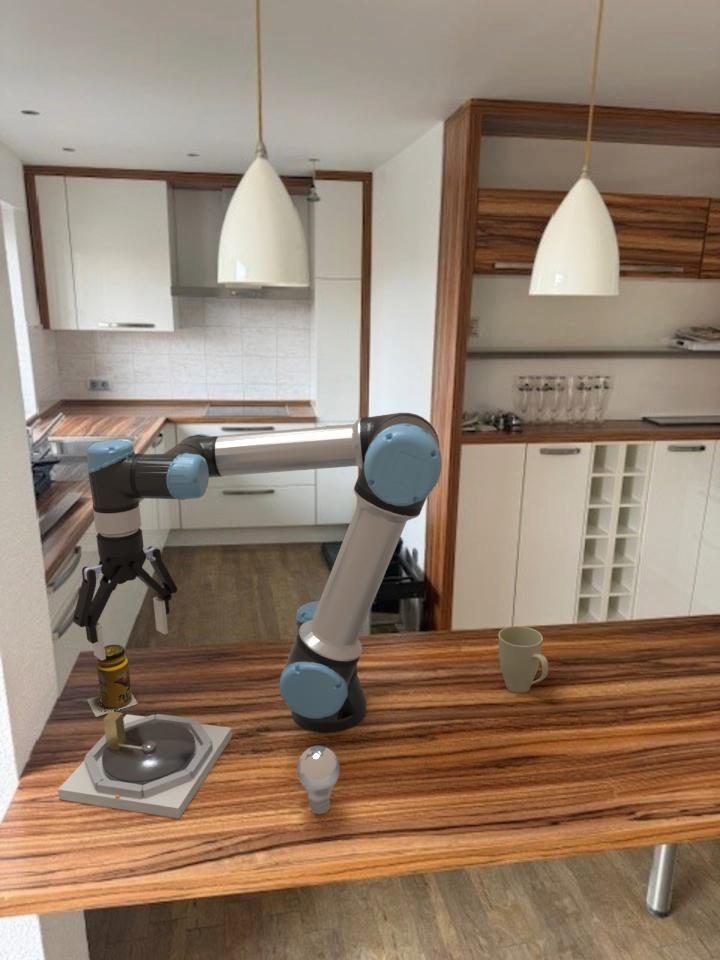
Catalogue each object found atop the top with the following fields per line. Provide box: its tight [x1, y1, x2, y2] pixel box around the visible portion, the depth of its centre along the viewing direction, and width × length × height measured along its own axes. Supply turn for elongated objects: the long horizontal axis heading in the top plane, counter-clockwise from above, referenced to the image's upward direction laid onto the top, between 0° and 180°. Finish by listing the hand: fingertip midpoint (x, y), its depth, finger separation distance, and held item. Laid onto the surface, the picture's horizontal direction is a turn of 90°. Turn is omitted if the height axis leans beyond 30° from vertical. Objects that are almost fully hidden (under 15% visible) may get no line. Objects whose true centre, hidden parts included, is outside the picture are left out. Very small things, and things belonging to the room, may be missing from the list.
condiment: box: [86, 644, 139, 718], centre depth 147 cm, size 7×8×12 cm
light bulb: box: [296, 744, 341, 816], centre depth 115 cm, size 7×7×12 cm
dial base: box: [57, 713, 233, 819], centre depth 128 cm, size 22×22×4 cm
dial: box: [102, 711, 196, 785], centre depth 127 cm, size 16×16×7 cm
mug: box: [498, 625, 549, 694], centre depth 150 cm, size 11×10×12 cm
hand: (132, 644), depth 129 cm, fingers open, 12 cm apart
